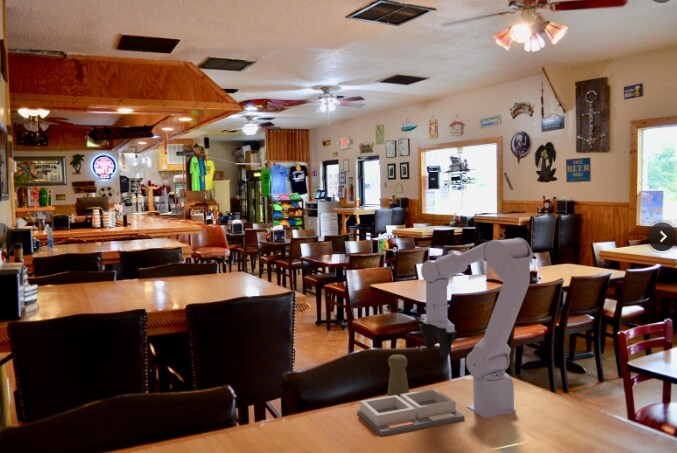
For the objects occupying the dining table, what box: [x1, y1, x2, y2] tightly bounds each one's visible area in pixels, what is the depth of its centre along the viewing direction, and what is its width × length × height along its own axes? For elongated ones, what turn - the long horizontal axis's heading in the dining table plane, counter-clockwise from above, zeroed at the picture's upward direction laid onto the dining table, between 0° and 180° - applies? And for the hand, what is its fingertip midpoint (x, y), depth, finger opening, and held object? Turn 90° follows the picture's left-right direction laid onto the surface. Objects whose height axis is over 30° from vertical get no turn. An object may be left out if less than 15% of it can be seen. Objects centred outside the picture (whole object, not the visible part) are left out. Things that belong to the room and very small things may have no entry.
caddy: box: [356, 388, 465, 437], centre depth 135 cm, size 22×14×4 cm, turn 111°
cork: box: [386, 354, 410, 397], centre depth 149 cm, size 6×6×11 cm
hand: (437, 352), depth 153 cm, fingers open, 7 cm apart
